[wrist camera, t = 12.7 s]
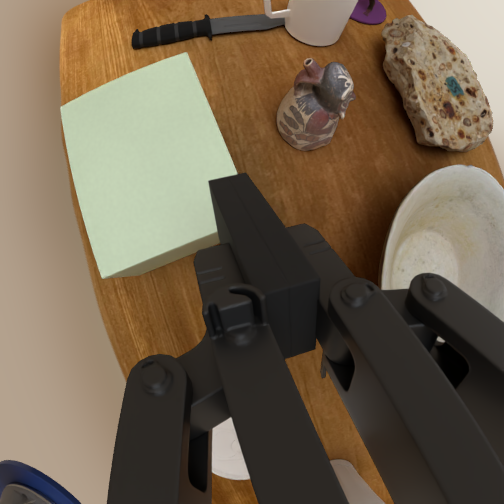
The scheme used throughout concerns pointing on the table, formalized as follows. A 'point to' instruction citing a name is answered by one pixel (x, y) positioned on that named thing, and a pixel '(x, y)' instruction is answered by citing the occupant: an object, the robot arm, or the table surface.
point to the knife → (202, 29)
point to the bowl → (450, 235)
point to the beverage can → (227, 453)
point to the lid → (145, 163)
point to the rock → (436, 86)
